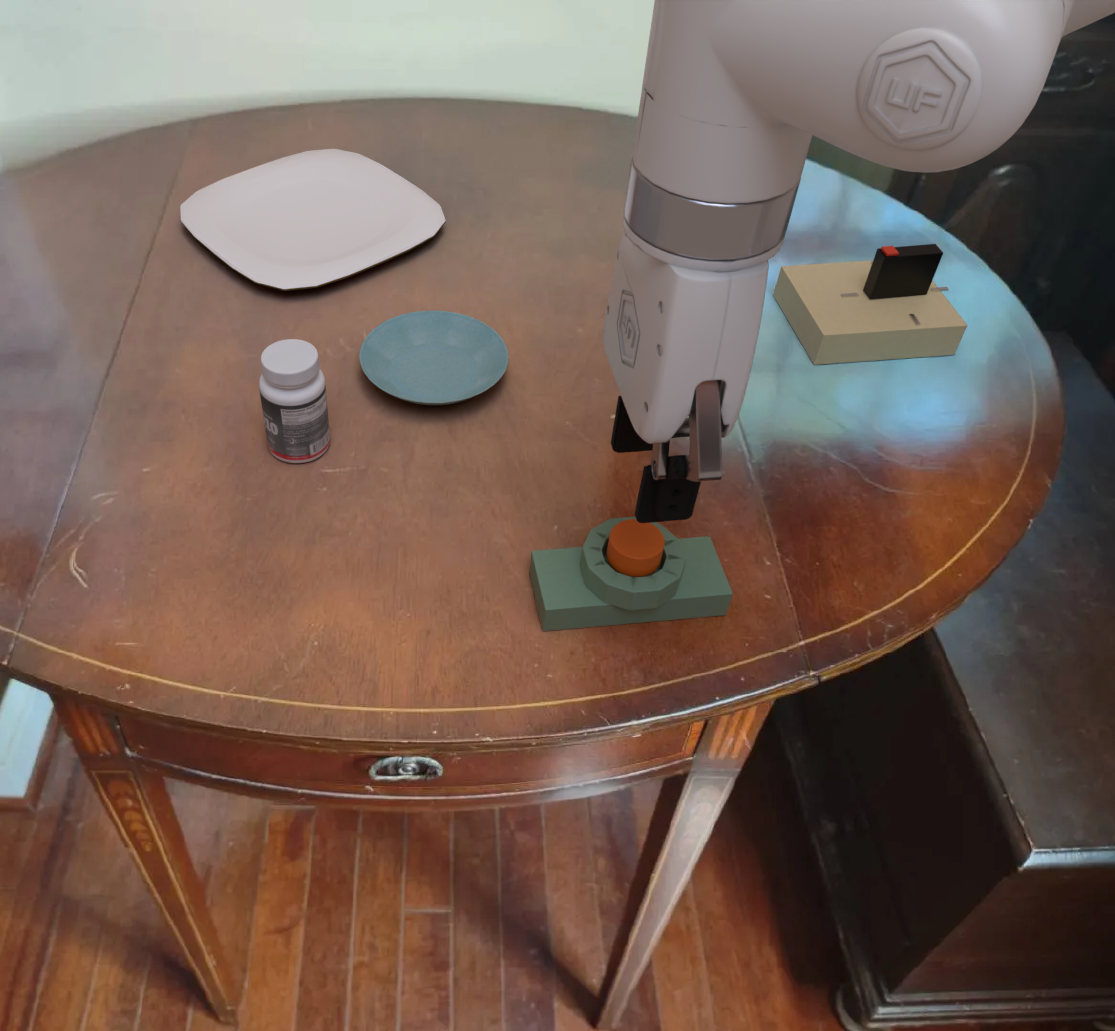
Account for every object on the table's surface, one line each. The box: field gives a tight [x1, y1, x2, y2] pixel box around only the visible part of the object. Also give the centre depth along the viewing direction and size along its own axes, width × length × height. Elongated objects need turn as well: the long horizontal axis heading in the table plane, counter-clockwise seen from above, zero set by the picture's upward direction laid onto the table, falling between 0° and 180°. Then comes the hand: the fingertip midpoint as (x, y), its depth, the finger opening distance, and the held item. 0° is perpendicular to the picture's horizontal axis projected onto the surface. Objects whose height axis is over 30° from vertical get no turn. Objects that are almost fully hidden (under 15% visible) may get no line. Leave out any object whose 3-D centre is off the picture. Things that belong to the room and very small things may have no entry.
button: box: [606, 519, 665, 577], centre depth 66 cm, size 3×3×2 cm
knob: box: [863, 243, 944, 299], centre depth 86 cm, size 5×1×4 cm, turn 98°
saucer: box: [358, 310, 510, 406], centre depth 84 cm, size 12×12×2 cm
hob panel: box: [772, 259, 968, 366], centre depth 88 cm, size 13×10×3 cm
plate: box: [179, 148, 447, 292], centre depth 100 cm, size 22×22×2 cm
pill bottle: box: [258, 338, 331, 464], centre depth 76 cm, size 5×5×8 cm
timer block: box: [528, 516, 734, 632], centre depth 67 cm, size 12×6×4 cm, turn 96°
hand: (649, 479), depth 61 cm, fingers open, 5 cm apart
